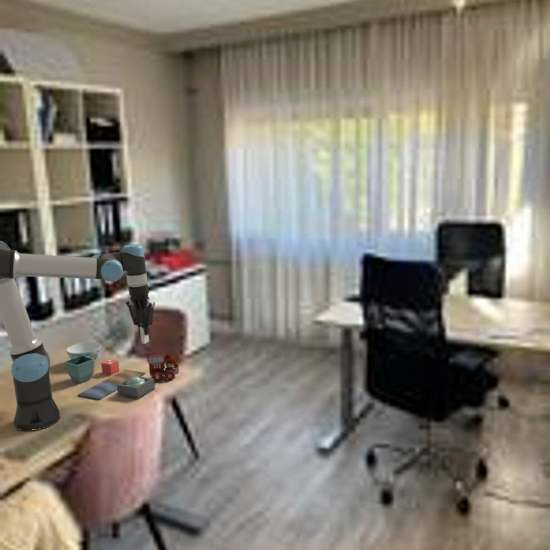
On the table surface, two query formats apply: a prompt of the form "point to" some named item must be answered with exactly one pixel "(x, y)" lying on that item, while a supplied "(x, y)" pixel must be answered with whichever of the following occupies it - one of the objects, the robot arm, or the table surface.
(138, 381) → the dome cap
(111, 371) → the die
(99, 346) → the chinaware
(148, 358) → the toy fire truck
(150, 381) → the dome housing
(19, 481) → the table surface
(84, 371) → the flower pot
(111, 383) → the board
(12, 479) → the table surface
